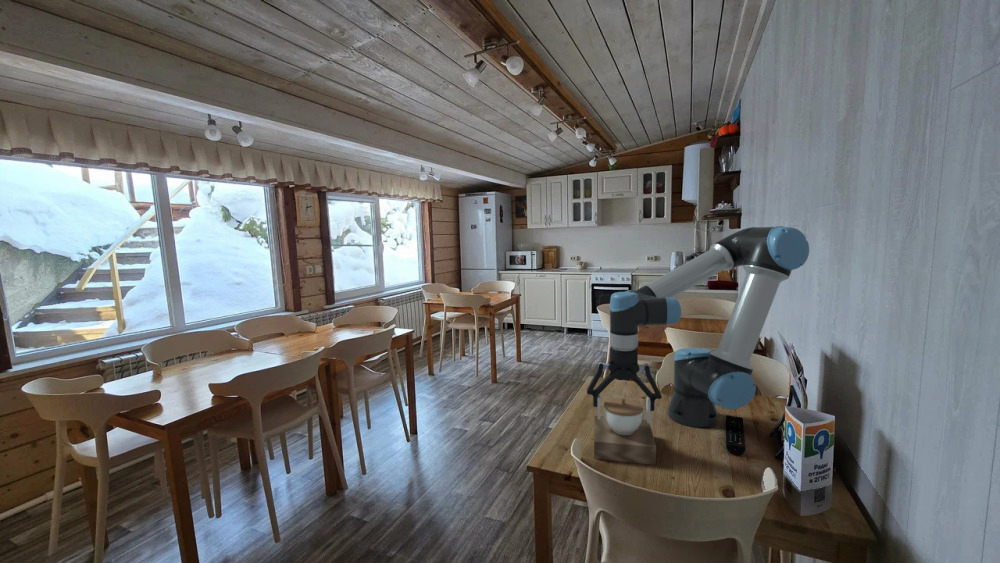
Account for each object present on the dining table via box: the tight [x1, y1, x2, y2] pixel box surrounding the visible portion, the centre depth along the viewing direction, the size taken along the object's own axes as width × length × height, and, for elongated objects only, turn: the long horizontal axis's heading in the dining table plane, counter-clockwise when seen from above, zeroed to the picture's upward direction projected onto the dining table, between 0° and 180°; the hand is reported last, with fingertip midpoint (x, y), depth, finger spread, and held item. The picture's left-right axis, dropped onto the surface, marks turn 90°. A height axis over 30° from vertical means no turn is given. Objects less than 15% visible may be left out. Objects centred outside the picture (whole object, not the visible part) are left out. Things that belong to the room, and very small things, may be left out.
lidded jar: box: [603, 396, 644, 435], centre depth 117 cm, size 11×11×9 cm
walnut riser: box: [593, 415, 657, 466], centre depth 117 cm, size 16×16×5 cm
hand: (623, 419), depth 117 cm, fingers open, 13 cm apart
